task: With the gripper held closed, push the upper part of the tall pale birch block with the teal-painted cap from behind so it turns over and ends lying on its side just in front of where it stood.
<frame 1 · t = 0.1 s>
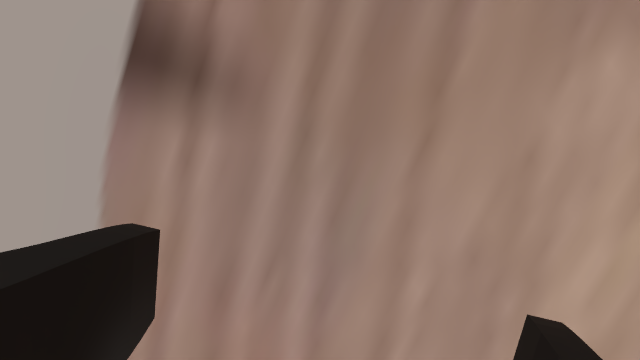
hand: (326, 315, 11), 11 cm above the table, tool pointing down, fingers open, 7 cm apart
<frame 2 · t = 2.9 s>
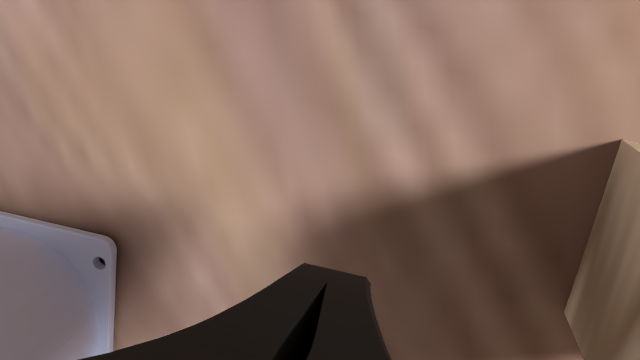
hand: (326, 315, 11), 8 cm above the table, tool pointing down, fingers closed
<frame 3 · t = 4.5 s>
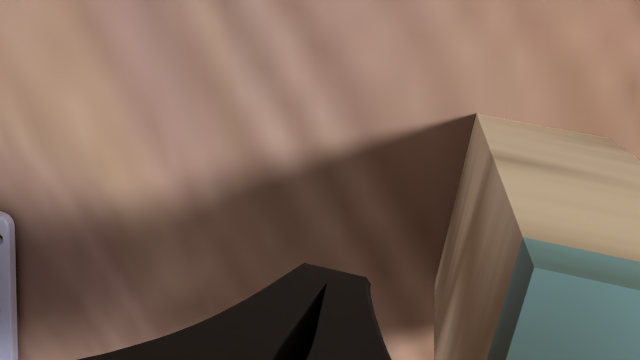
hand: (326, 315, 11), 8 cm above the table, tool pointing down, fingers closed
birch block: (516, 215, 18), on the table
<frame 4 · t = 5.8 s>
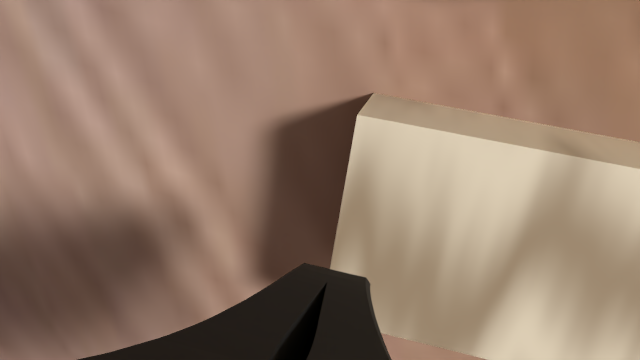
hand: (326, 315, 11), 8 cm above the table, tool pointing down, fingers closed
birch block: (348, 199, 17), point 2 cm above the table, tilted 90°
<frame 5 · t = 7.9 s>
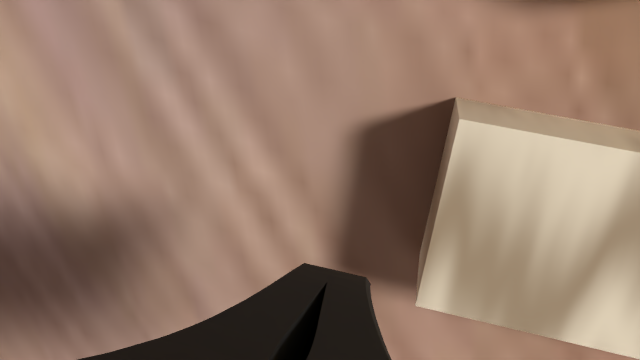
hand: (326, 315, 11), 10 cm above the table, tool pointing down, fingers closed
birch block: (436, 196, 18), point 2 cm above the table, tilted 90°
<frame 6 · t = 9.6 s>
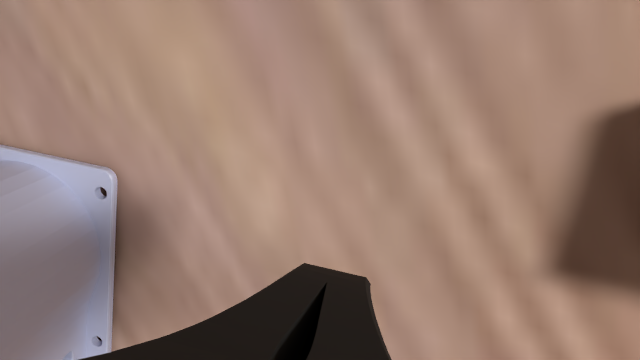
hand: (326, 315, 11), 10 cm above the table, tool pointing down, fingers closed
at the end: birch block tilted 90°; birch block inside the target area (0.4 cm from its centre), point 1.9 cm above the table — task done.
